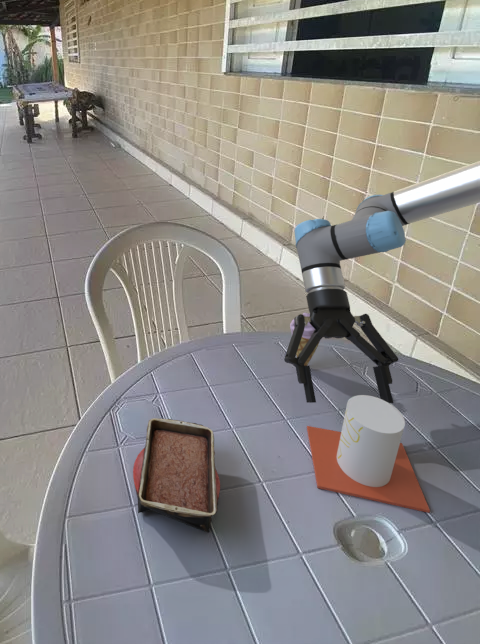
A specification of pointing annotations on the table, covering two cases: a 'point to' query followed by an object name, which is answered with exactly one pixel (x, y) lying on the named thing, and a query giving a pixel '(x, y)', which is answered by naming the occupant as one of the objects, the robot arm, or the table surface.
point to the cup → (370, 440)
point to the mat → (333, 478)
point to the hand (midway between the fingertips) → (349, 403)
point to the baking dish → (178, 472)
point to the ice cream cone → (304, 337)
